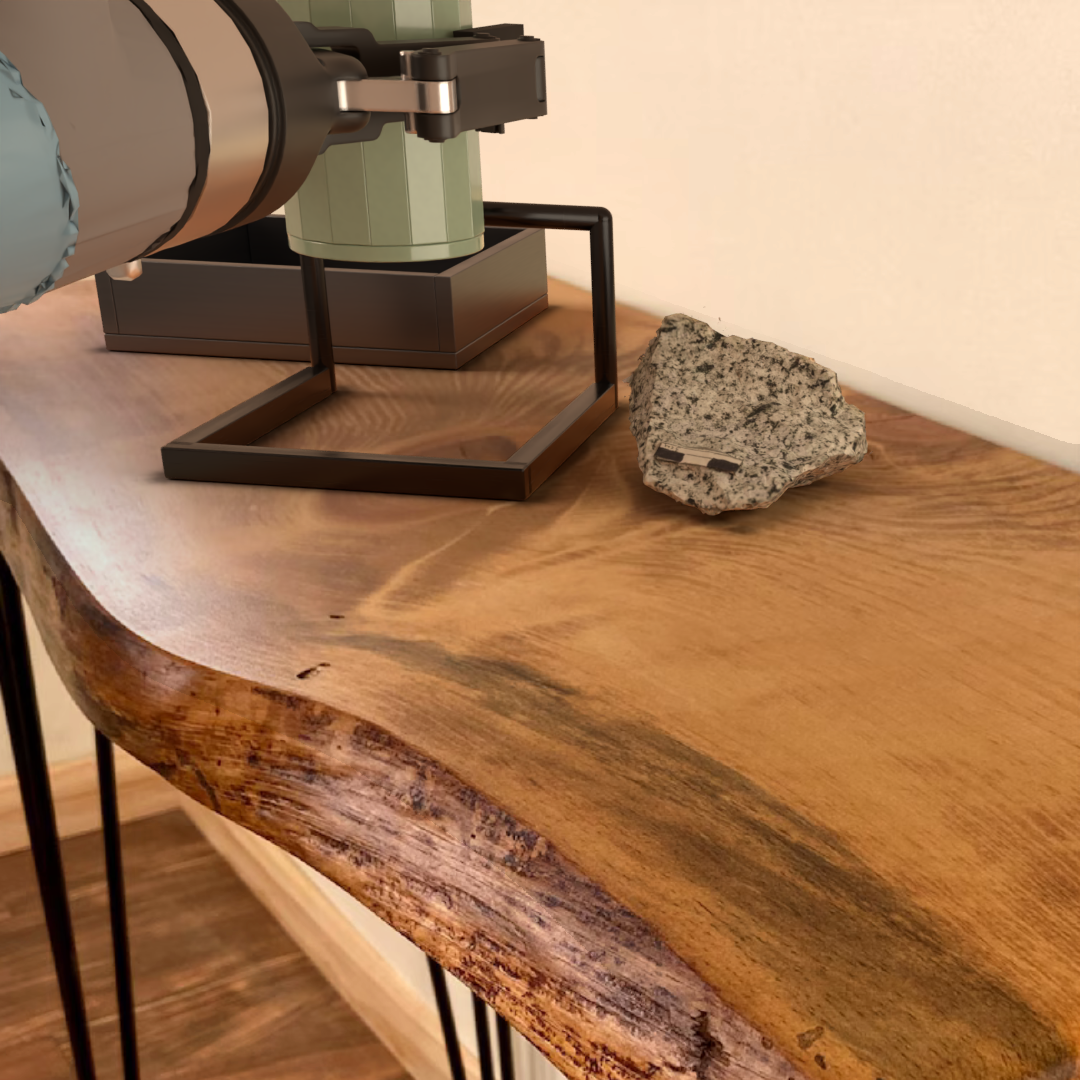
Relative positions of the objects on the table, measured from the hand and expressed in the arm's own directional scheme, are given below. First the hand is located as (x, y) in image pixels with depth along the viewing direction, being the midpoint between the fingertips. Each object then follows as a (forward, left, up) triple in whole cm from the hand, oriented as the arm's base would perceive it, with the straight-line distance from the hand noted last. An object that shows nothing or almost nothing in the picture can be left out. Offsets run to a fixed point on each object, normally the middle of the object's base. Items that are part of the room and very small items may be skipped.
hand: (415, 56), depth 71 cm
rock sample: (+15, -9, -14) cm, 23 cm away
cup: (0, -5, -7) cm, 8 cm away
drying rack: (0, -4, -14) cm, 15 cm away
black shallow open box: (-11, +17, -14) cm, 25 cm away
